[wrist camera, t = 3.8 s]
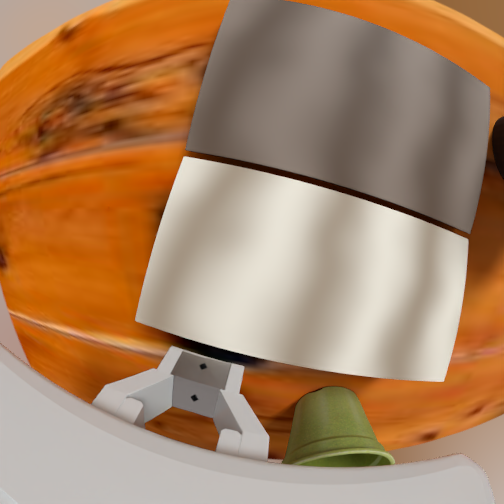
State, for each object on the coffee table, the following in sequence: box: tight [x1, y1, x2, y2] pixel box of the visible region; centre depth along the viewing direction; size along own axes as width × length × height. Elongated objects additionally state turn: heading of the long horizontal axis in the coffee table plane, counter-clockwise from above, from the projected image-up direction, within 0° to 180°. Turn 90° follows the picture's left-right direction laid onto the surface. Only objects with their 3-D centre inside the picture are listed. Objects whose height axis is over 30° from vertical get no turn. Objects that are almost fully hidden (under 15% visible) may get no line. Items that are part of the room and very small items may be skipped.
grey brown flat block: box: [185, 0, 490, 234], centre depth 14 cm, size 20×12×2 cm, turn 77°
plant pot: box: [281, 387, 395, 467], centre depth 18 cm, size 9×9×9 cm
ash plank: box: [135, 156, 469, 382], centre depth 15 cm, size 20×10×2 cm, turn 77°
